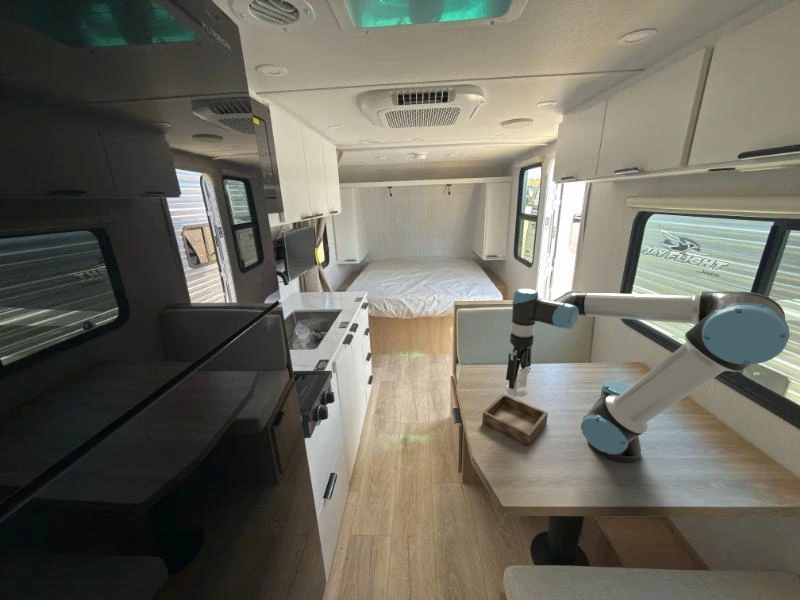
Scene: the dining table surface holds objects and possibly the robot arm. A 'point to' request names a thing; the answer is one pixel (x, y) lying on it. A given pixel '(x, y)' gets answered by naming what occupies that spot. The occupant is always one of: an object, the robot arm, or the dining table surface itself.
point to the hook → (519, 385)
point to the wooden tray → (515, 419)
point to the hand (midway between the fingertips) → (517, 389)
